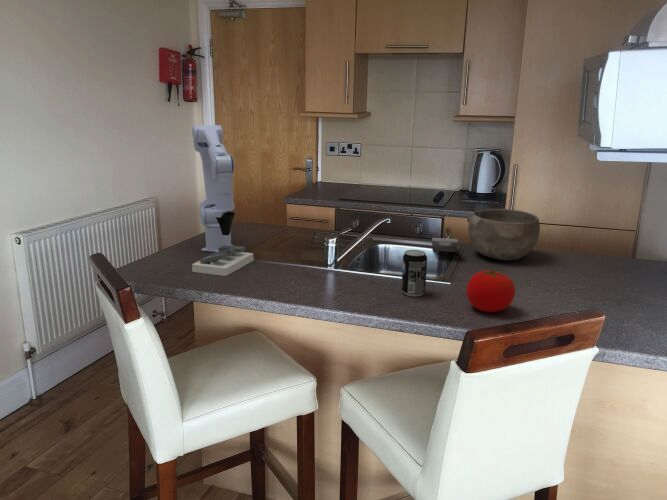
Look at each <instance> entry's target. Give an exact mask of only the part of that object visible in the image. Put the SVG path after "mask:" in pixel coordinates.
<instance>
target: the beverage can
mask: <svg viewBox="0 0 667 500" xmlns="http://www.w3.org/2000/svg"><path fill="white" fill-rule="evenodd" d="M427 267H428V256H427V253H426V251H424V250H420V249H407V250H405V251H404V253H403V255H402V270H401V271H402V272H401V273H402V274H401V292H402V293H403V294H404V295H405V296H406V297H417V298H418V297H421V296H423V295H424V294H425V293H426V287H427V286H426V285H427V269H428V268H427Z"/></svg>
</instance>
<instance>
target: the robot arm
mask: <svg viewBox="0 0 667 500" xmlns="http://www.w3.org/2000/svg"><path fill="white" fill-rule="evenodd" d="M191 129H192V133H191V135H192V141H193V148H194V151H195V152H197V153H199V155H200V157H201V164H202V171H203V172H202V173H203V181H204V190H205V197H206V198H205V199H203V200H202V201H201V202H200V205H199V221H200V224H201V225H203V226H204V231H205V232H204V233H205V234H204V235H205V246H204V247H203V248H201V251H202V252H203V251H204V252H212V253H215V252H218V251H219V250H218V248H220V247H222V246H224V245H226V246H234V244H232V234H231V229H232V224H233V220H234V218H235V216H236V212H234V210H235V208H236V207H235V202H234V187H233V186H234V183H233V174H234V171H235V162H234V161H235V160H234V157H233V155H232V154H228V152H227V149H226V146H225V145H224V144H222V143H223V140H224V131H223V127H222V125H220V124H213V125H211V124H210V125H209V124H207V125H205V124H203V125H199V124H198V125H197V124H194V125H192V128H191Z"/></svg>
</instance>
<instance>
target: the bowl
mask: <svg viewBox="0 0 667 500" xmlns="http://www.w3.org/2000/svg"><path fill="white" fill-rule="evenodd" d="M466 222H467V223H468V226H467V228H468V229H467V231H468V239H469V242H470V243H471V245H472V247H473V248H474V249H475V250H476V251H477V252H478V253H480V254H481V255H483V256H485V257H487V258H490V259H495V260H499V261H506V262H507V261H515V260H519V259H521V258H523V257H524V256H525V257H526V255H527V254H529V253H530V252H531V251H532V250H533V249H534V248H535V246H536V245H537V244H538V243H537V242H538V241H539V237H540V232H541V224H540V219H539V218H538V216H537V215H535V214H534V213H531V212H527V211H523V210H518V209H510V208H486V209H481V210H476V211H474V212H472V213H471V215H470V216H468V217H467V219H466Z"/></svg>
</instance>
